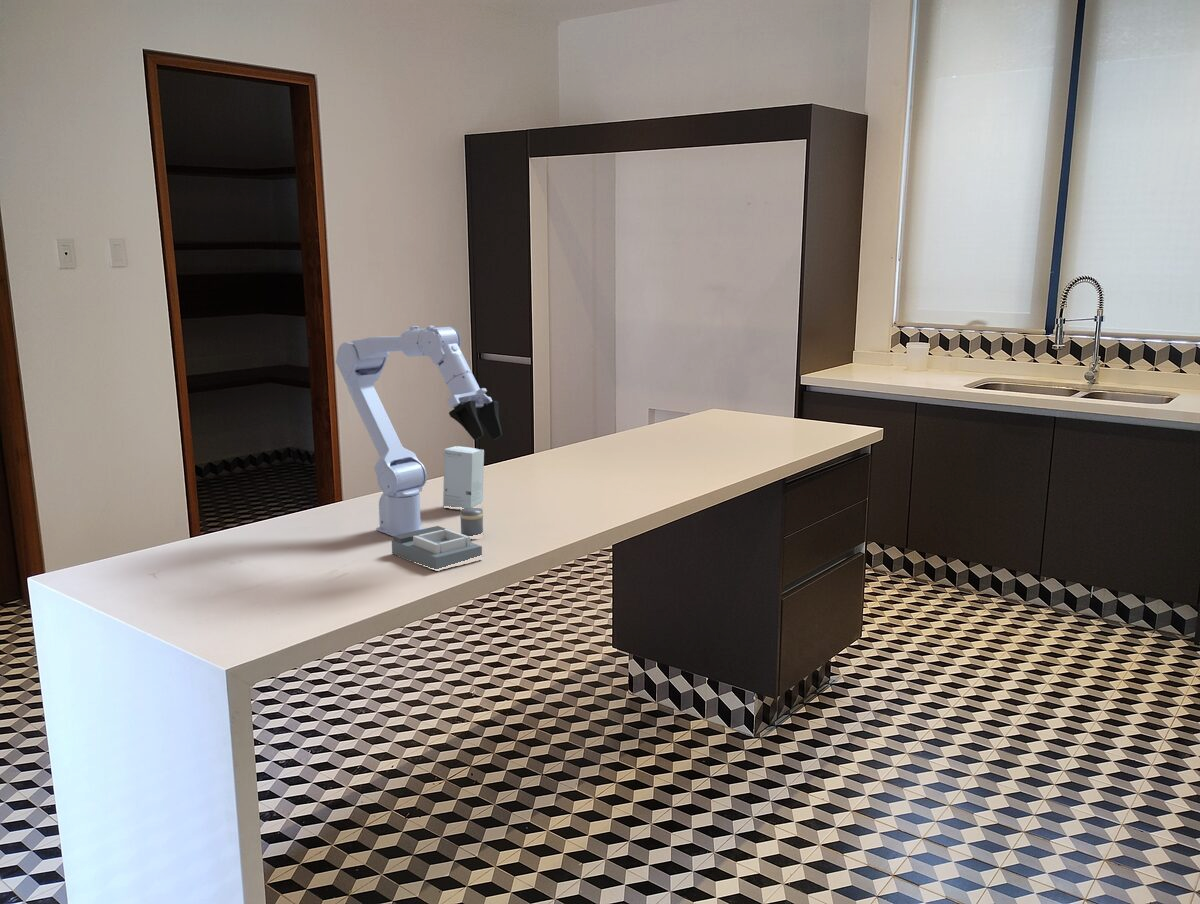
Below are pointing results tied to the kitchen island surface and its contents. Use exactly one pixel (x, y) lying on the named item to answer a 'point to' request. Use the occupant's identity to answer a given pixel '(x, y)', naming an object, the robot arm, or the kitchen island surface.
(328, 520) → the kitchen island surface
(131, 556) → the kitchen island surface
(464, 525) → the lens
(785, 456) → the kitchen island surface
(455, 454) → the skincare box
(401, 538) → the camera body
